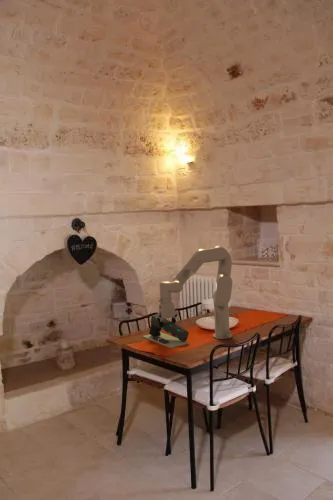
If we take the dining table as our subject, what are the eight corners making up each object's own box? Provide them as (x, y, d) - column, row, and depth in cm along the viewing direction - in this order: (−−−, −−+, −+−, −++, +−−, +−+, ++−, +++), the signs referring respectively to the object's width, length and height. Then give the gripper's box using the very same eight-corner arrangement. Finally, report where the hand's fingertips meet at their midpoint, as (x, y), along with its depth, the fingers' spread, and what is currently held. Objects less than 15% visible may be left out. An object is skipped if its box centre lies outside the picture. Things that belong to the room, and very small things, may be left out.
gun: (154, 331, 329) (157, 311, 325) (185, 351, 311) (190, 330, 307) (147, 333, 325) (151, 313, 320) (179, 353, 306) (183, 332, 302)
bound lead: (169, 342, 306) (169, 340, 305) (164, 344, 304) (164, 341, 303) (156, 338, 318) (156, 335, 318) (152, 339, 316) (152, 336, 316)
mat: (188, 343, 304) (188, 342, 304) (170, 348, 297) (170, 346, 297) (160, 333, 333) (160, 332, 333) (142, 337, 326) (142, 335, 326)
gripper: (157, 303, 306) (159, 329, 308) (180, 299, 315) (181, 324, 317) (151, 301, 313) (153, 327, 314) (173, 297, 322) (175, 322, 323)
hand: (167, 325), depth 316 cm, fingers open, 9 cm apart
